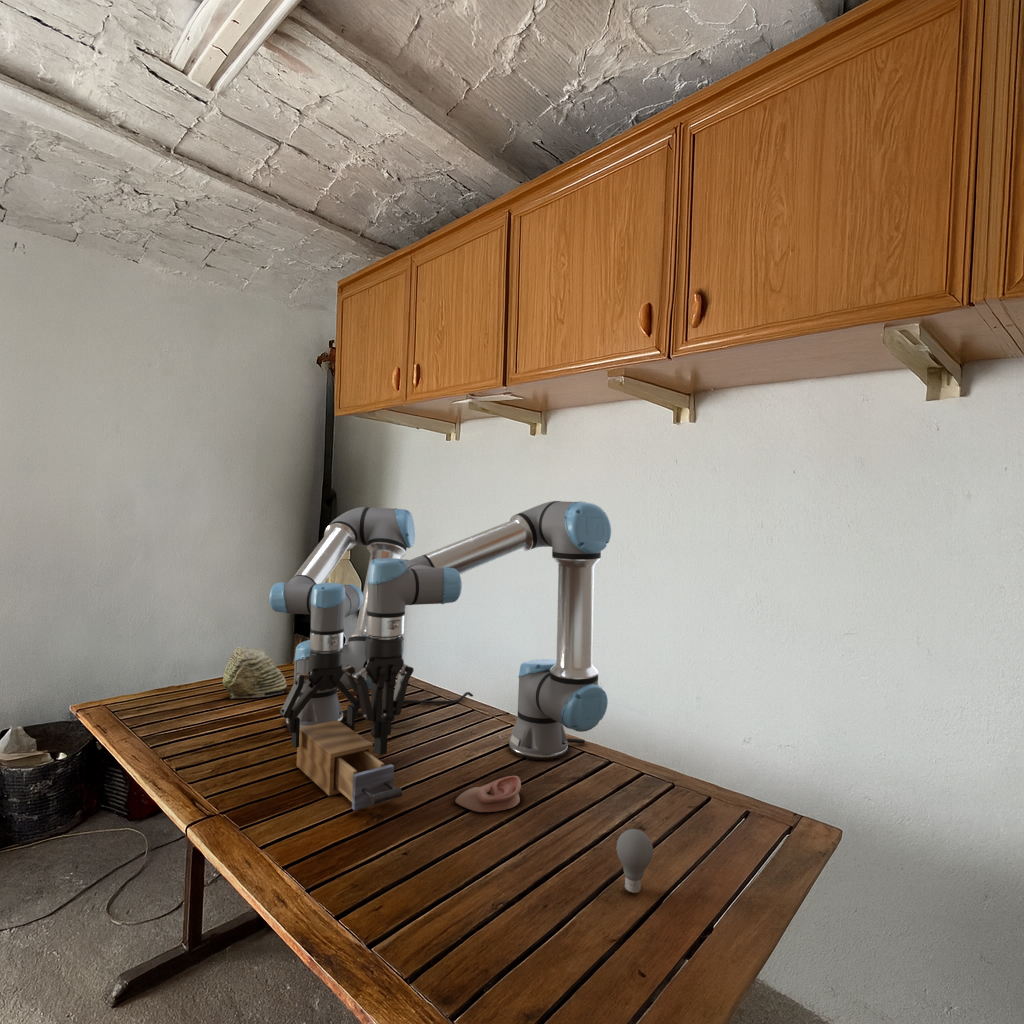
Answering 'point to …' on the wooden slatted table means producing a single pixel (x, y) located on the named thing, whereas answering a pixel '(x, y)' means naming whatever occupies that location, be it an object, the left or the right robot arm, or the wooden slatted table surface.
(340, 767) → the drawer
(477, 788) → the anatomical model
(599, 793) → the wooden slatted table surface
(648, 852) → the light bulb
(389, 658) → the right robot arm
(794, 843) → the wooden slatted table surface
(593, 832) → the wooden slatted table surface
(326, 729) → the cabinet
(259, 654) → the fossil
